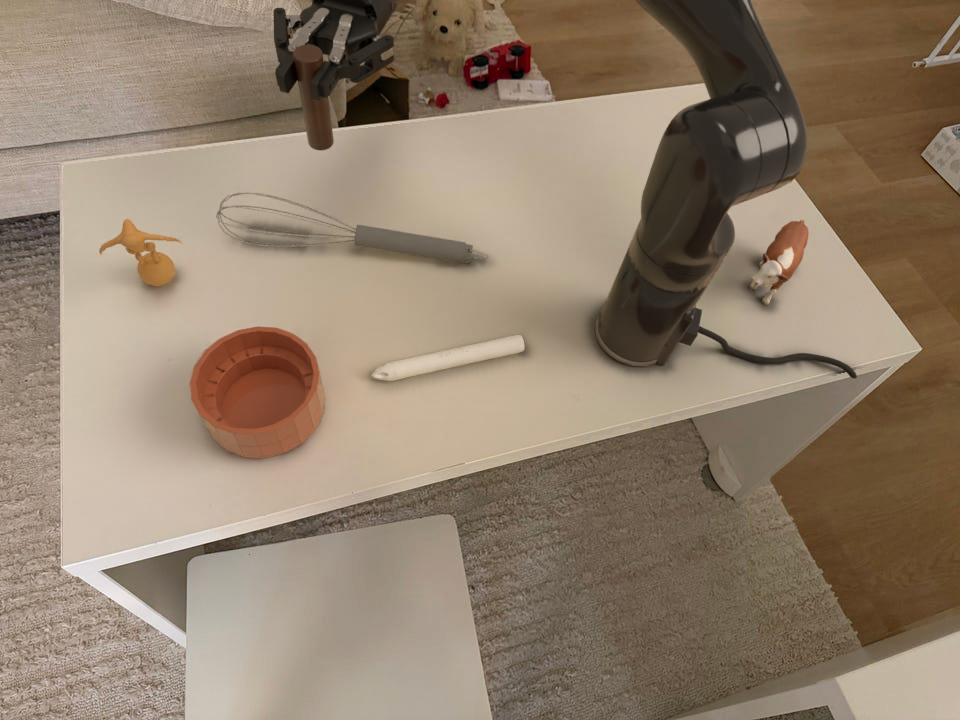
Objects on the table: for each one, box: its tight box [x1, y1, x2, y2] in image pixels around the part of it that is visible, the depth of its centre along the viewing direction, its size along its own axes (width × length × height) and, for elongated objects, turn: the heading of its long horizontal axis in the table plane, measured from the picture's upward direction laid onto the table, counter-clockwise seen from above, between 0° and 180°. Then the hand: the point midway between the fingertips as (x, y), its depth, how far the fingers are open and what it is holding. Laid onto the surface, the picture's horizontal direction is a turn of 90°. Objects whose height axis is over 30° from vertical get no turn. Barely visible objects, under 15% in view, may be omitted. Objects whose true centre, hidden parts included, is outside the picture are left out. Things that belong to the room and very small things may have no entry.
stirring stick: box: [293, 45, 335, 151], centre depth 69 cm, size 3×3×11 cm
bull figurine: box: [748, 219, 809, 306], centre depth 85 cm, size 4×13×8 cm, turn 143°
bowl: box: [189, 325, 326, 459], centre depth 69 cm, size 12×12×6 cm
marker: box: [371, 334, 526, 382], centre depth 76 cm, size 18×2×2 cm, turn 108°
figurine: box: [98, 218, 183, 287], centre depth 74 cm, size 8×6×12 cm
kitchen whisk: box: [215, 192, 489, 264], centre depth 82 cm, size 6×34×6 cm, turn 86°
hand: (298, 88), depth 65 cm, fingers closed on stirring stick, 3 cm apart
